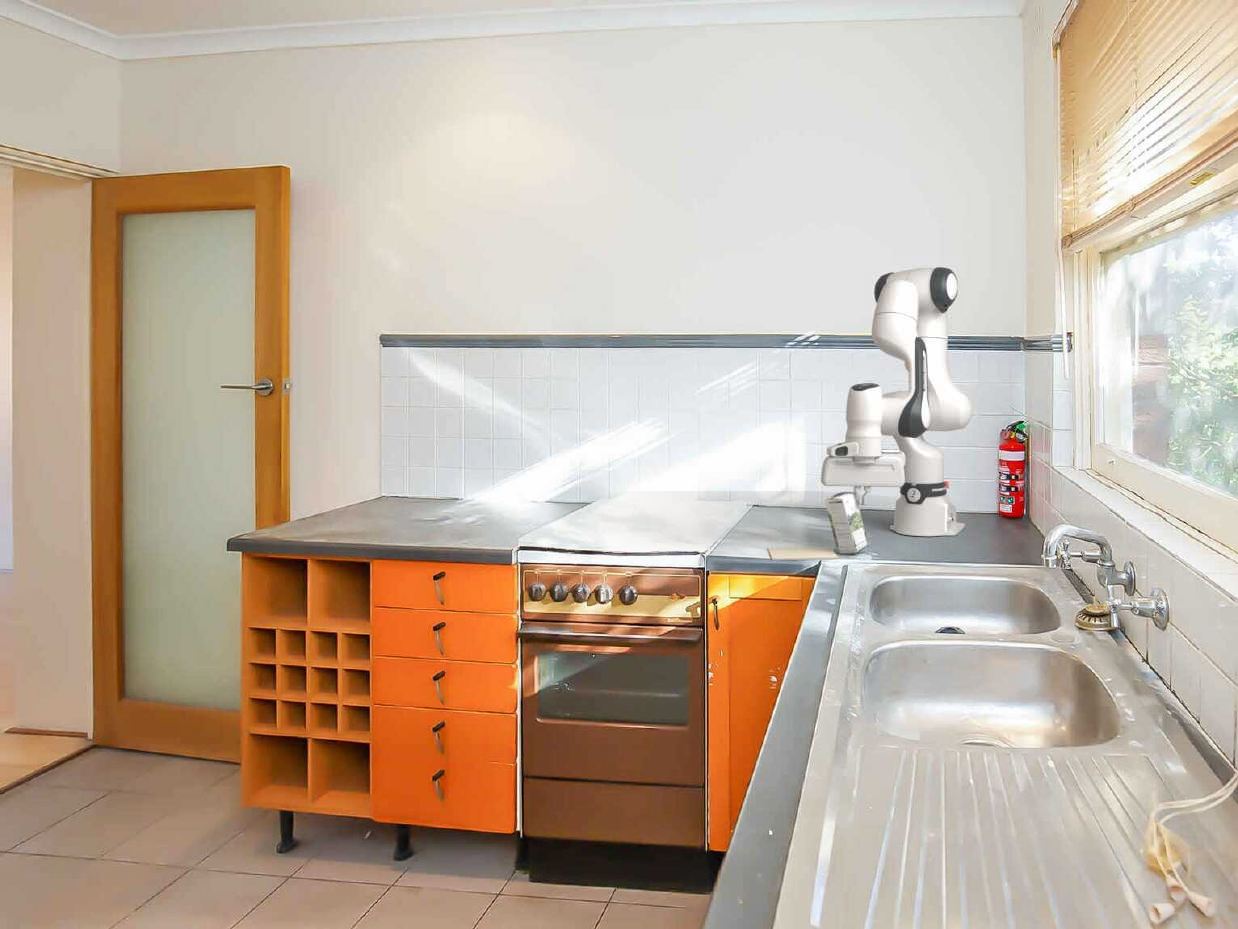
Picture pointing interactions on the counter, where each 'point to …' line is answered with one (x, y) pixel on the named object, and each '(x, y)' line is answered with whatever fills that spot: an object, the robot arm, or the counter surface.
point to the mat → (801, 553)
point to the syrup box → (846, 522)
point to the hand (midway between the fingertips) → (861, 504)
